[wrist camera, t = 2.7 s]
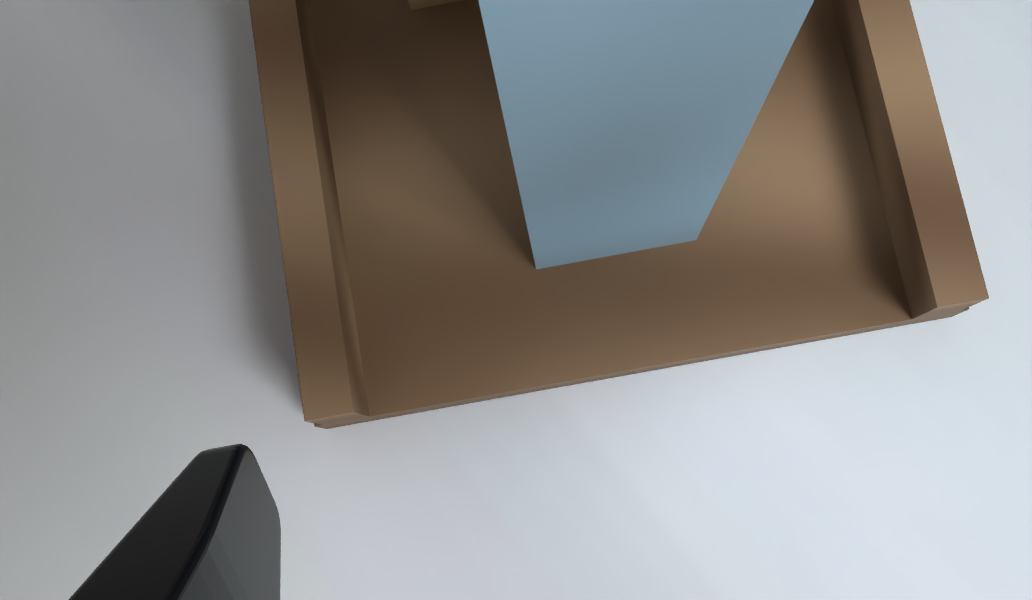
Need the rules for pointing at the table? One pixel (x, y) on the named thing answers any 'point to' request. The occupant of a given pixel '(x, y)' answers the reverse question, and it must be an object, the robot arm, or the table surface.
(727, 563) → the table surface
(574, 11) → the light blue block
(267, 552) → the robot arm
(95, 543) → the table surface
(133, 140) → the table surface
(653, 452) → the table surface
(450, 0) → the offcut lower
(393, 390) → the tray
